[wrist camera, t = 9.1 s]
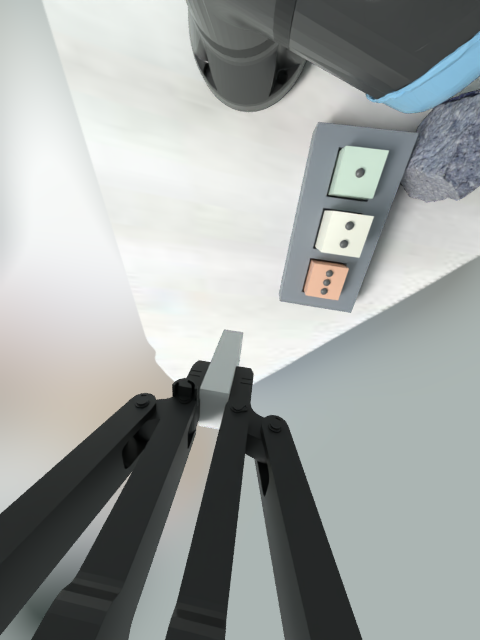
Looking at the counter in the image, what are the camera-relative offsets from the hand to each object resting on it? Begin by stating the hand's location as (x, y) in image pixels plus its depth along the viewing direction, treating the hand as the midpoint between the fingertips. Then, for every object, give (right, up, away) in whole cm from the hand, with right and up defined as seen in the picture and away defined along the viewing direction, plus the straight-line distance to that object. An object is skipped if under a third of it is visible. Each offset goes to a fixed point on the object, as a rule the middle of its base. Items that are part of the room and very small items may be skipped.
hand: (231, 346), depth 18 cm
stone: (+27, +24, +14) cm, 39 cm away
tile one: (+16, +22, +14) cm, 31 cm away
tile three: (+14, +10, +21) cm, 27 cm away
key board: (+15, +17, +19) cm, 30 cm away
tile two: (+15, +15, +16) cm, 26 cm away
